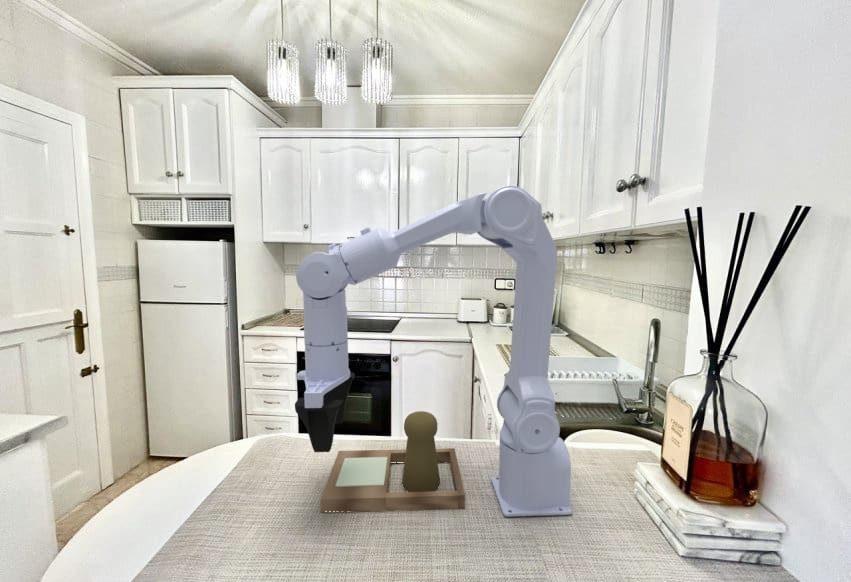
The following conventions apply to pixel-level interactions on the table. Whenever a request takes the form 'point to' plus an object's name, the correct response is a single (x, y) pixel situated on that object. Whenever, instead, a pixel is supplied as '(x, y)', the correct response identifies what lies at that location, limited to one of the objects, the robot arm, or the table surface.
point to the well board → (384, 484)
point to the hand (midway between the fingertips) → (329, 435)
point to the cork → (420, 453)
